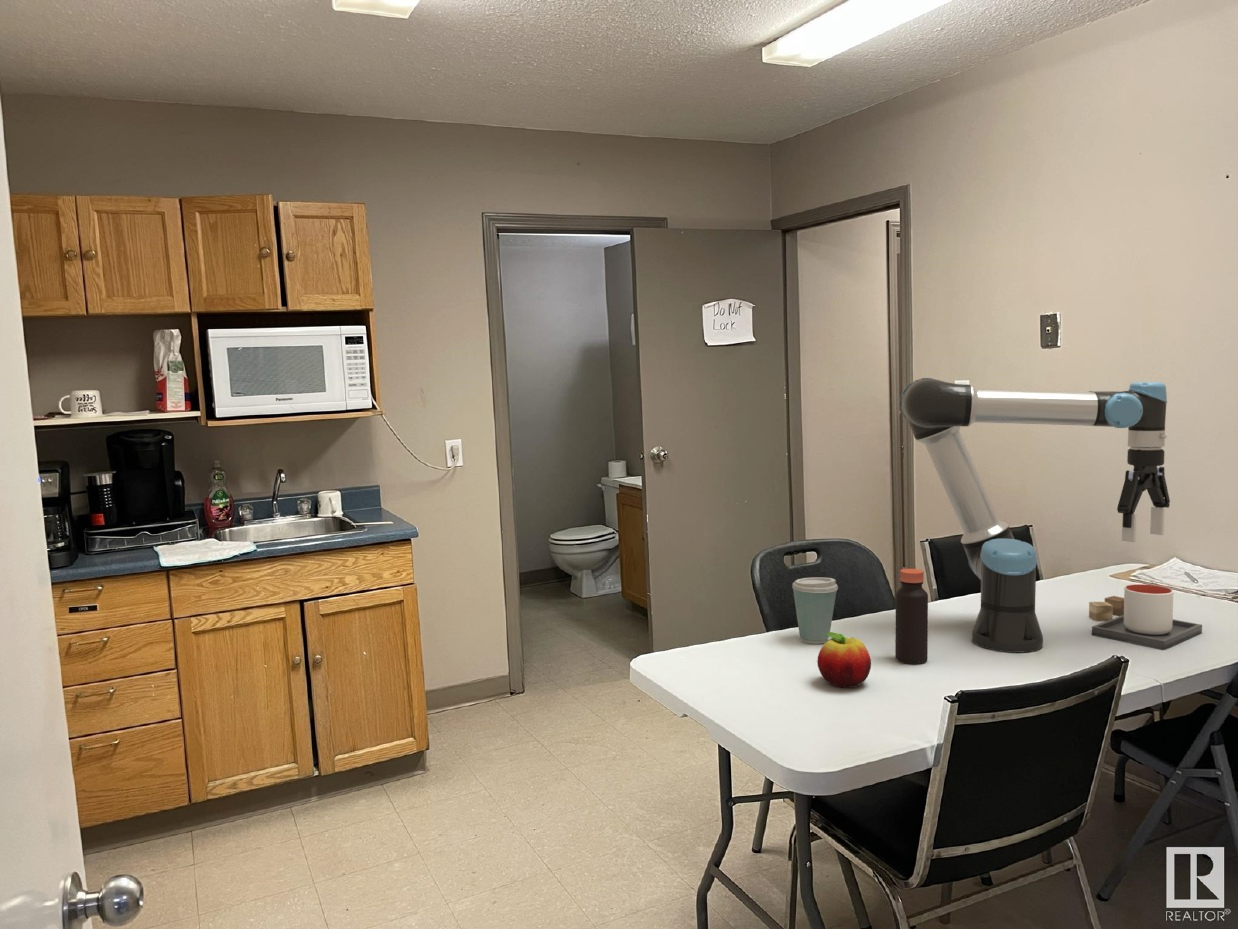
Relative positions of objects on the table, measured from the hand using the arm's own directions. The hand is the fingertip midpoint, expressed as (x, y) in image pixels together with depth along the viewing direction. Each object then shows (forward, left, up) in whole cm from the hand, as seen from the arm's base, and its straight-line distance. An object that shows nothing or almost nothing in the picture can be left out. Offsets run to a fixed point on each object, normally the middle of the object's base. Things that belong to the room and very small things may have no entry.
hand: (1142, 538), depth 218 cm
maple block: (-8, +9, -23) cm, 26 cm away
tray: (+1, -2, -23) cm, 23 cm away
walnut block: (-4, +16, -23) cm, 28 cm away
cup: (+1, -2, -22) cm, 22 cm away
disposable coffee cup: (-71, -32, -23) cm, 81 cm away
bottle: (-48, -40, -23) cm, 66 cm away
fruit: (-59, -60, -23) cm, 87 cm away
